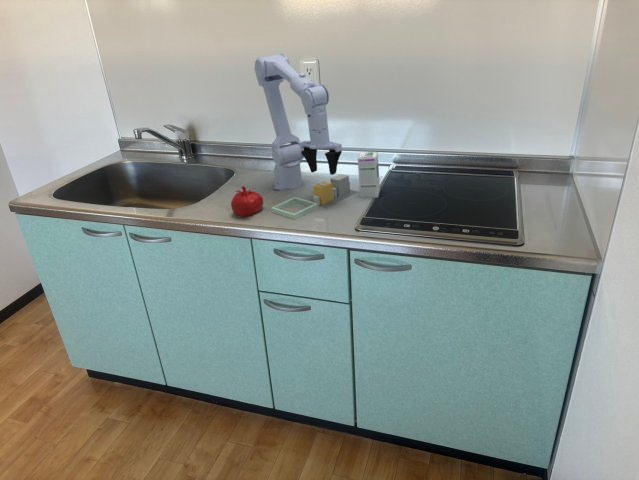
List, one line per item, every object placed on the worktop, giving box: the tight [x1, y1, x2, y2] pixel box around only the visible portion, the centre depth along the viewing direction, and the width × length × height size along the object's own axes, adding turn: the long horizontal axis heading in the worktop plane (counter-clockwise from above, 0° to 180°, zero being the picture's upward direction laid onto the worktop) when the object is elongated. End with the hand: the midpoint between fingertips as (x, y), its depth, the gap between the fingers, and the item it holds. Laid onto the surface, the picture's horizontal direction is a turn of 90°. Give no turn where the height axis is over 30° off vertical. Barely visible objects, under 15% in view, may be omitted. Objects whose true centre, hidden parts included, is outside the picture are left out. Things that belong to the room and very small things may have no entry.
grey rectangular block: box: [329, 173, 351, 197], centre depth 159 cm, size 4×5×6 cm
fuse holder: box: [309, 181, 359, 209], centre depth 157 cm, size 9×16×4 cm, turn 137°
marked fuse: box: [312, 181, 333, 205], centre depth 154 cm, size 4×5×6 cm
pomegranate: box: [230, 185, 264, 218], centre depth 153 cm, size 10×10×9 cm
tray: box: [271, 196, 319, 220], centre depth 151 cm, size 10×10×3 cm
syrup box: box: [357, 151, 381, 199], centre depth 154 cm, size 6×6×14 cm
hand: (323, 172), depth 150 cm, fingers open, 7 cm apart
